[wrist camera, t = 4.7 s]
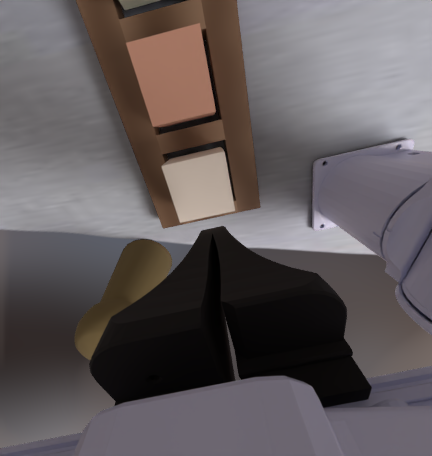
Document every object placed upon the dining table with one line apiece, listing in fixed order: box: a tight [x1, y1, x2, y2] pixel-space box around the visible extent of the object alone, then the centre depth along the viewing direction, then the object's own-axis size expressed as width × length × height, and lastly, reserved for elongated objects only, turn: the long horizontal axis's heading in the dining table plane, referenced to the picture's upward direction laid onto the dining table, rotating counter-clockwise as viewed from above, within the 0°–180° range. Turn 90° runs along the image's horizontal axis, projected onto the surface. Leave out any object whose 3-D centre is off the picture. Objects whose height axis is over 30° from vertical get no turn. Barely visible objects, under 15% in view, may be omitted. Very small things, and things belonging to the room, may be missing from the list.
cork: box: [75, 239, 172, 360], centre depth 19 cm, size 6×6×11 cm
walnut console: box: [76, 0, 260, 228], centre depth 15 cm, size 10×22×2 cm, turn 12°
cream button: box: [161, 147, 235, 223], centre depth 16 cm, size 4×4×4 cm
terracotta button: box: [126, 23, 216, 127], centre depth 14 cm, size 4×4×4 cm
